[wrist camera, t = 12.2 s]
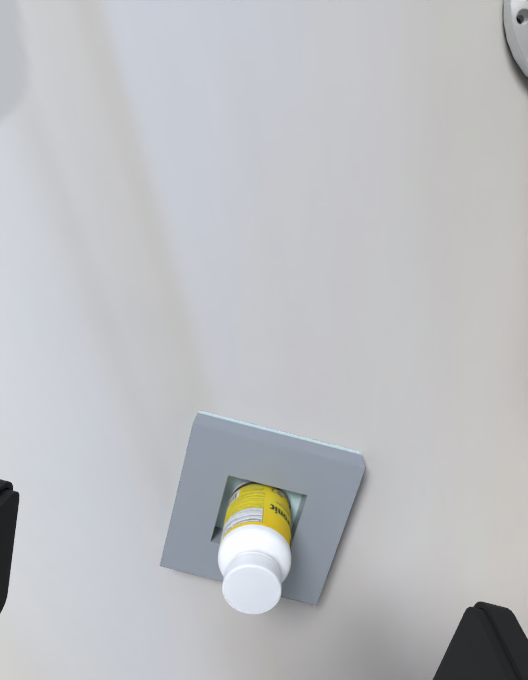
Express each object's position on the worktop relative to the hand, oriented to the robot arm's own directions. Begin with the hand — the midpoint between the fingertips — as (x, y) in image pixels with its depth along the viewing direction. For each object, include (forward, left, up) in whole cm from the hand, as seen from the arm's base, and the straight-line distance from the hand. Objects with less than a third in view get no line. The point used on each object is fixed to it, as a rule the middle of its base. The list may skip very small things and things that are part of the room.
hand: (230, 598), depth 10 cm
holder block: (+17, +3, -28) cm, 33 cm away
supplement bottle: (+17, +3, -28) cm, 33 cm away
